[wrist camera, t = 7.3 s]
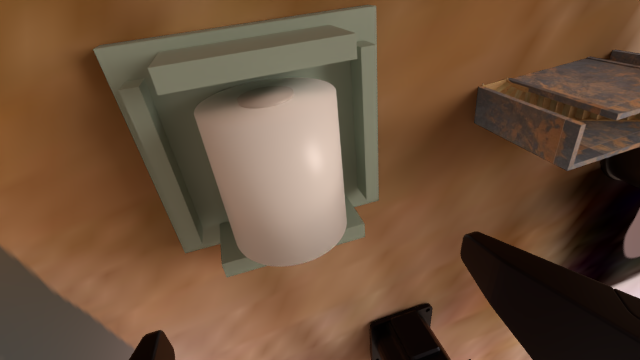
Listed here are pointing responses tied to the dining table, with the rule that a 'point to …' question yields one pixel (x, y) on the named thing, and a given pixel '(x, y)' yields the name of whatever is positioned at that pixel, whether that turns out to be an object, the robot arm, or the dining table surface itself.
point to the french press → (624, 166)
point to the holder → (232, 70)
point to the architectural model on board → (568, 109)
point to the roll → (277, 166)
